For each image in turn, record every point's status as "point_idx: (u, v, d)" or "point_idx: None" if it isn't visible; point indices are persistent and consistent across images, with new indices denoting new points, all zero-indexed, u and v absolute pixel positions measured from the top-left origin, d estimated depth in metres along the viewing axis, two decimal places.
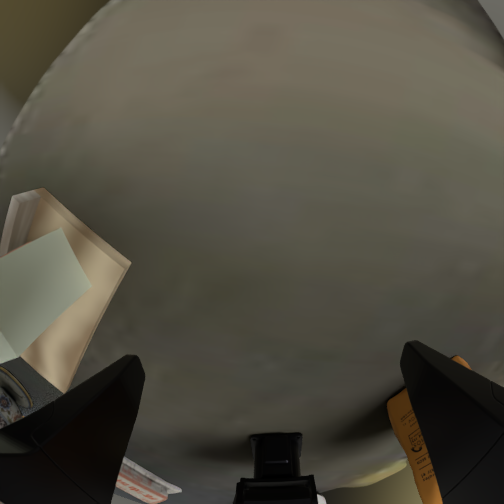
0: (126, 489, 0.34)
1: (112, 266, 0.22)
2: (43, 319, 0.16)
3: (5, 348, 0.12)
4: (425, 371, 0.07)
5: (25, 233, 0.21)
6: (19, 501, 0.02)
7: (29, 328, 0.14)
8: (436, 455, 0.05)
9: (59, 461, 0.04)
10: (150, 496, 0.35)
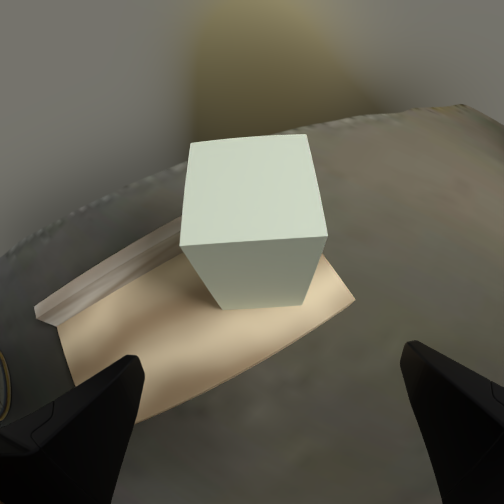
0: None
1: (341, 292, 0.21)
2: None
3: (299, 218, 0.12)
4: (425, 371, 0.07)
5: None
6: (19, 501, 0.02)
7: None
8: (436, 455, 0.05)
9: (59, 461, 0.04)
10: None
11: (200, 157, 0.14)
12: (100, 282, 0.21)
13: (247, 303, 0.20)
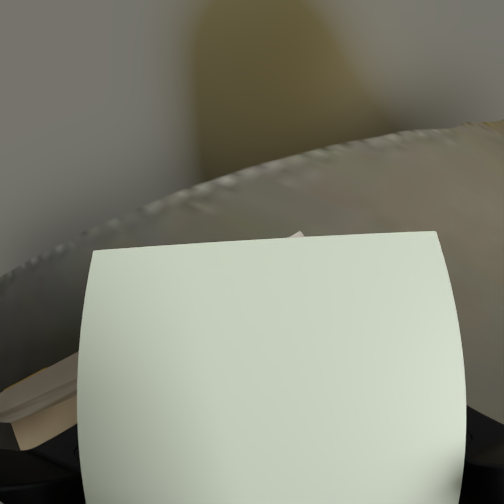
0: None
1: None
2: None
3: None
4: None
5: None
6: None
7: None
8: None
9: None
10: None
11: (112, 316, 0.04)
12: (42, 397, 0.11)
13: None
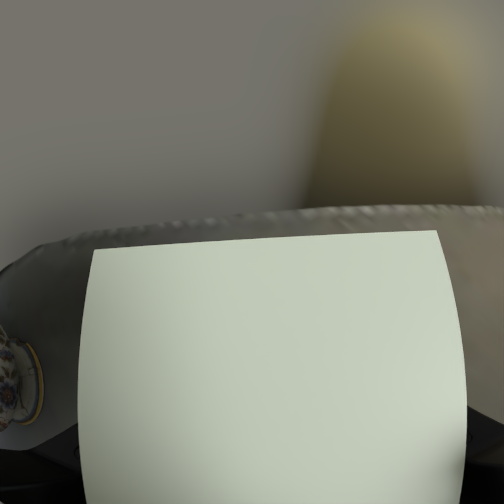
0: None
1: None
2: None
3: None
4: None
5: None
6: None
7: None
8: None
9: None
10: None
11: (112, 315, 0.04)
12: None
13: None
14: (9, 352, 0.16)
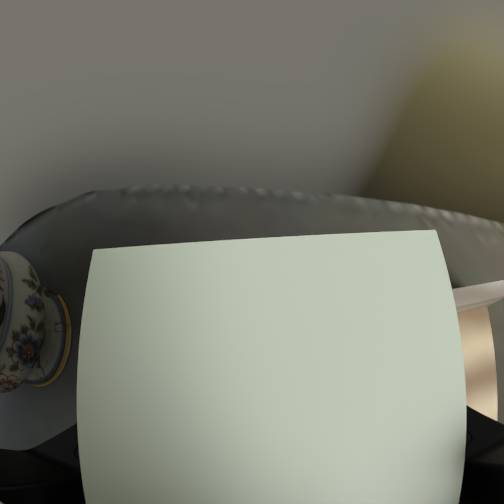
0: None
1: None
2: None
3: None
4: None
5: (457, 312, 0.17)
6: None
7: None
8: None
9: None
10: None
11: (111, 314, 0.04)
12: None
13: None
14: (39, 300, 0.16)
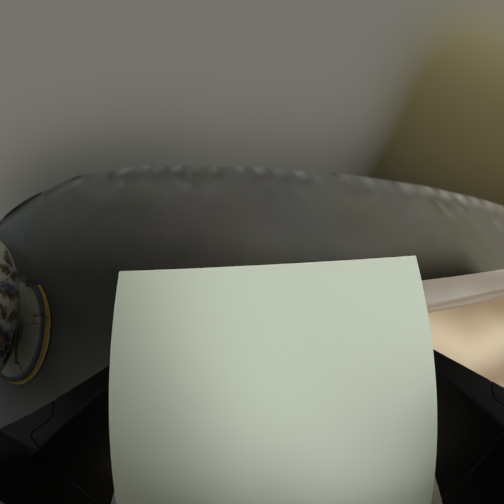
0: None
1: None
2: None
3: None
4: None
5: (479, 301, 0.14)
6: (19, 501, 0.02)
7: None
8: (436, 455, 0.05)
9: (59, 461, 0.04)
10: None
11: (139, 328, 0.05)
12: None
13: None
14: (13, 287, 0.14)
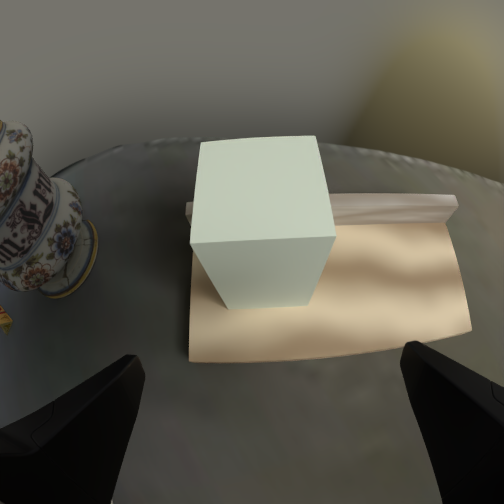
0: None
1: (465, 320, 0.19)
2: None
3: (309, 218, 0.12)
4: (425, 371, 0.07)
5: (415, 219, 0.23)
6: (19, 501, 0.02)
7: None
8: (436, 455, 0.05)
9: (59, 461, 0.04)
10: None
11: (210, 156, 0.14)
12: None
13: (253, 303, 0.20)
14: (79, 208, 0.22)
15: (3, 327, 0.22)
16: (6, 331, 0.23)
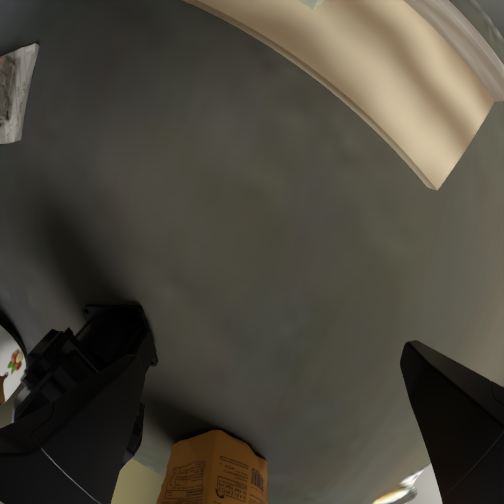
0: None
1: (440, 174, 0.17)
2: None
3: None
4: (425, 371, 0.07)
5: (470, 62, 0.13)
6: (19, 501, 0.02)
7: None
8: (436, 455, 0.05)
9: (59, 461, 0.04)
10: None
11: None
12: None
13: None
14: None
15: None
16: None
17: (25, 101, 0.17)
